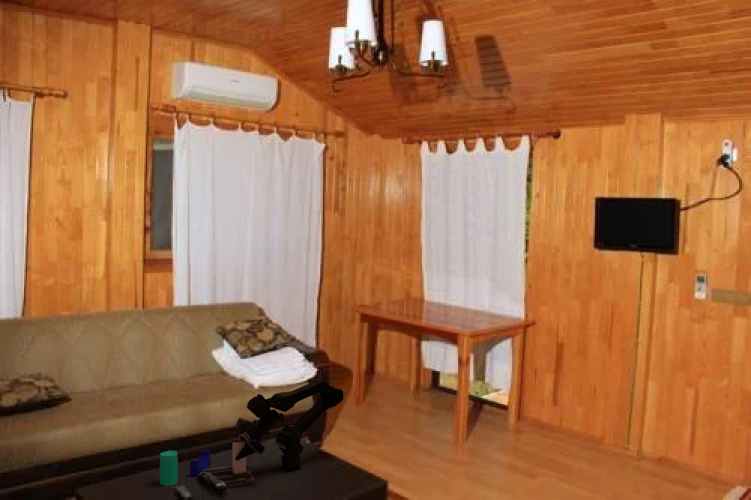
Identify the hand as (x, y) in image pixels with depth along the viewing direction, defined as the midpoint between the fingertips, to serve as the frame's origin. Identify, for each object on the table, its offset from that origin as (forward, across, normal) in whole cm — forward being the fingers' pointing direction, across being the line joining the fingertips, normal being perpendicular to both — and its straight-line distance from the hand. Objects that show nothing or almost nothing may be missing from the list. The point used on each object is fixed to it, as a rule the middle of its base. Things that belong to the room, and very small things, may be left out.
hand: (234, 457), depth 242 cm
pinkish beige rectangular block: (+3, 0, +5) cm, 6 cm away
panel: (+6, 0, +4) cm, 8 cm away
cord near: (+6, +8, +5) cm, 11 cm away
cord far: (+6, -8, +4) cm, 11 cm away
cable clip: (+13, -13, -2) cm, 18 cm away
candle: (+21, -5, -10) cm, 24 cm away
